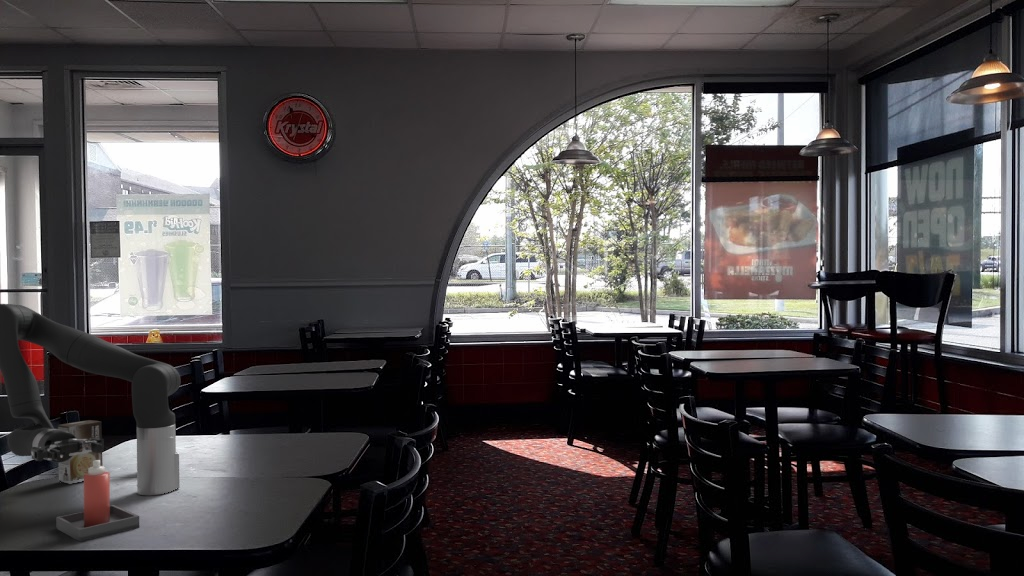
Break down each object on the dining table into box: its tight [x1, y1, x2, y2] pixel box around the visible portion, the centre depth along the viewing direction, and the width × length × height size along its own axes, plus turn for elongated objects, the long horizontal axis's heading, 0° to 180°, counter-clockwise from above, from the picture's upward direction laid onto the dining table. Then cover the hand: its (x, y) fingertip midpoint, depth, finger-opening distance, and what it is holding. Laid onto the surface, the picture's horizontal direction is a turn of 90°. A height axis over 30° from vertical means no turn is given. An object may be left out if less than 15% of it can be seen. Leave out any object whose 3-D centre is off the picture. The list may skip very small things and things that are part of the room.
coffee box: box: [57, 419, 104, 481], centre depth 208 cm, size 9×6×16 cm
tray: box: [55, 504, 140, 543], centre depth 164 cm, size 12×14×2 cm
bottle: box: [83, 460, 111, 527], centre depth 164 cm, size 5×5×14 cm
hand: (79, 452), depth 172 cm, fingers open, 8 cm apart
